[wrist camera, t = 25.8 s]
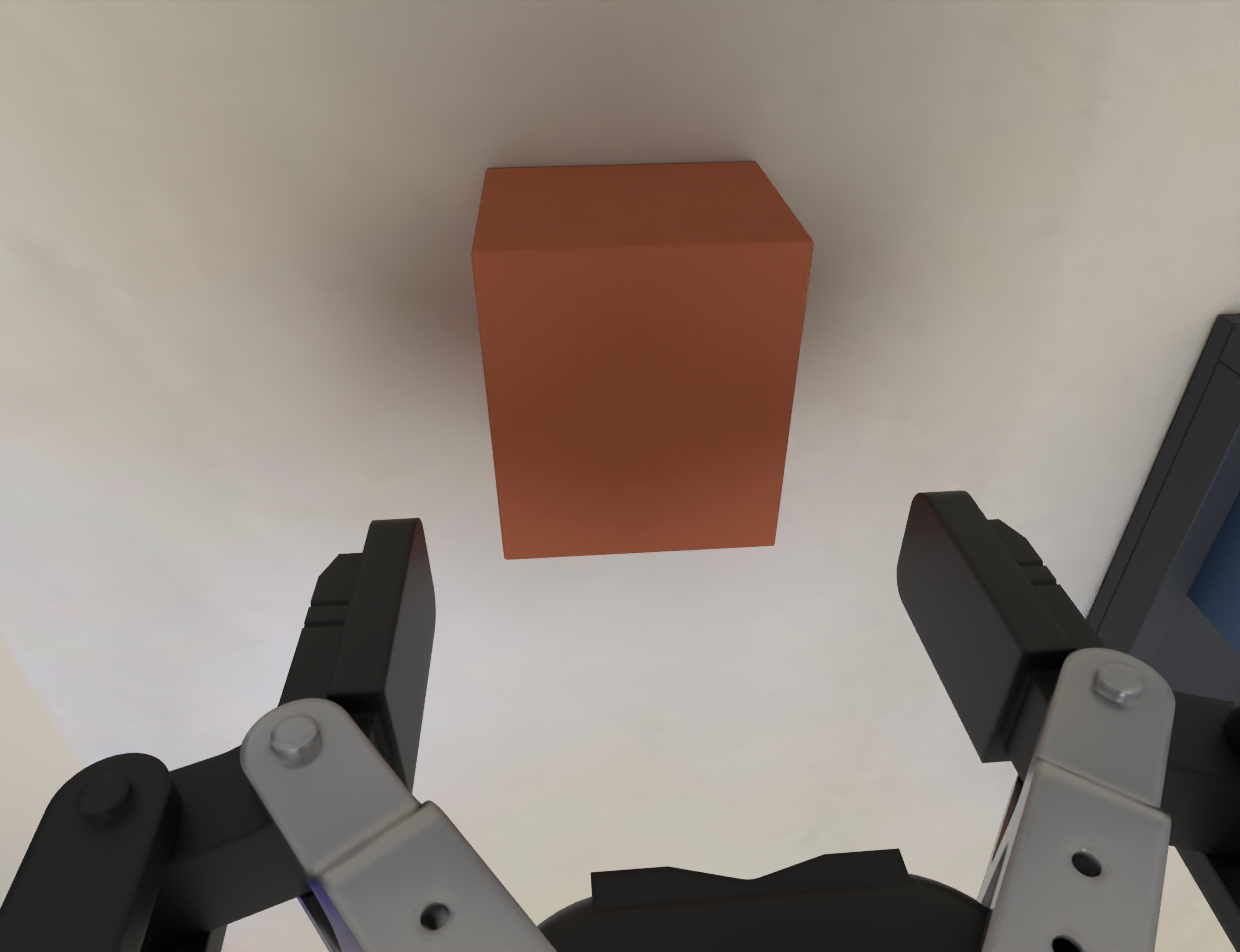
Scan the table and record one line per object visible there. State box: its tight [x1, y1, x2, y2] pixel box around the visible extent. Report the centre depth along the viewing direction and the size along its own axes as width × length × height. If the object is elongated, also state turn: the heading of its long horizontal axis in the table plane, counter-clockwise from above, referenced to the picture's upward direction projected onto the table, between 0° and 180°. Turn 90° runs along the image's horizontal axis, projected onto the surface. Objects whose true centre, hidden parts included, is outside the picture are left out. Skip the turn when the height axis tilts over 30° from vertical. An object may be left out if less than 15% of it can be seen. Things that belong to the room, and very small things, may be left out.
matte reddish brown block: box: [471, 162, 813, 560], centre depth 19 cm, size 7×6×5 cm
